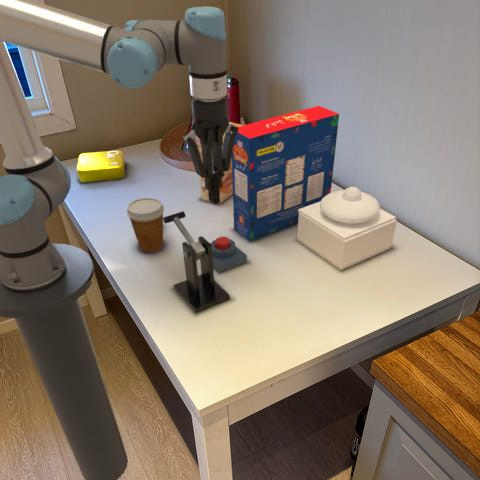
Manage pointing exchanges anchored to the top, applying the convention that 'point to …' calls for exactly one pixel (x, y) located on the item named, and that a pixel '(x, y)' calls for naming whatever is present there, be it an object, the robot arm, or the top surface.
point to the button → (222, 243)
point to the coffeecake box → (226, 179)
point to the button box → (227, 257)
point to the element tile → (101, 166)
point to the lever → (186, 233)
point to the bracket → (200, 280)
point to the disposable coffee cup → (147, 223)
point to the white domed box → (346, 227)
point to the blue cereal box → (281, 169)
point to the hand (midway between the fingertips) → (214, 201)
